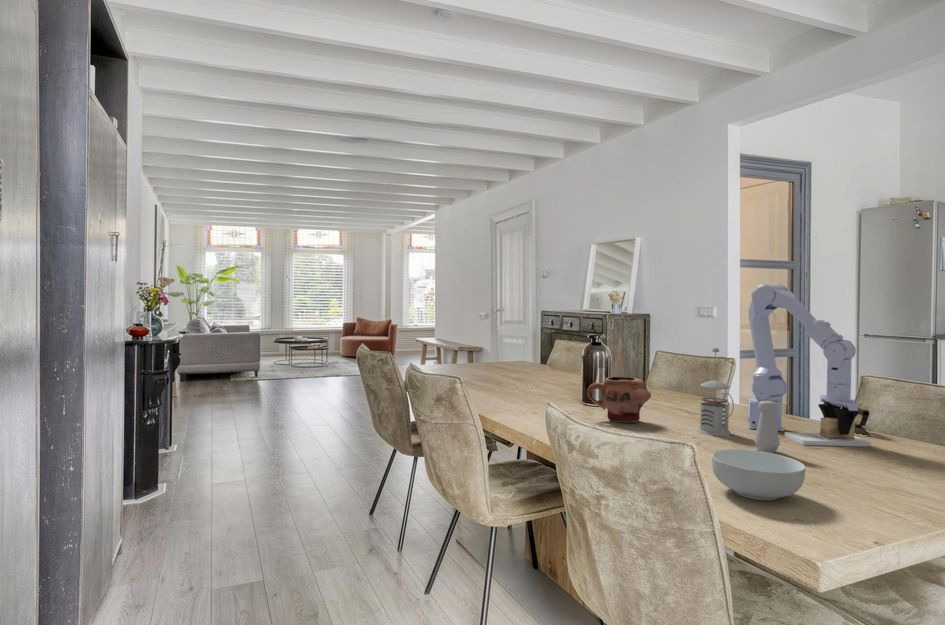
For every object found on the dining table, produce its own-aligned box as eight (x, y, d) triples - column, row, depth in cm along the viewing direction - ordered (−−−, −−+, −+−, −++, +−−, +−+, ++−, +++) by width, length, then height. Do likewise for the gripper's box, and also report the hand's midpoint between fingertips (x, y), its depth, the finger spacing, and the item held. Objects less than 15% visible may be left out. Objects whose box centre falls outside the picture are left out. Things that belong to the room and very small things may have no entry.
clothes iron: (855, 429, 182) (863, 400, 179) (876, 447, 171) (885, 416, 169) (831, 427, 182) (840, 397, 180) (851, 444, 172) (860, 413, 169)
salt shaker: (778, 450, 152) (780, 400, 152) (780, 455, 147) (781, 404, 147) (754, 447, 155) (755, 398, 155) (754, 452, 150) (755, 402, 149)
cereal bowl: (761, 514, 106) (762, 475, 106) (693, 486, 121) (693, 452, 121) (824, 502, 113) (825, 466, 112) (752, 478, 128) (753, 445, 128)
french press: (715, 427, 179) (717, 346, 179) (744, 436, 168) (746, 349, 168) (688, 429, 176) (690, 346, 176) (716, 438, 165) (718, 350, 165)
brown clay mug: (589, 423, 182) (590, 379, 182) (584, 416, 194) (584, 374, 194) (654, 425, 181) (655, 380, 181) (644, 417, 193) (645, 375, 193)
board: (802, 444, 159) (802, 440, 159) (784, 436, 169) (784, 432, 169) (870, 446, 158) (870, 442, 158) (848, 437, 168) (848, 433, 168)
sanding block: (828, 438, 161) (828, 420, 161) (820, 435, 165) (820, 417, 165) (854, 439, 161) (854, 421, 161) (845, 435, 165) (846, 418, 165)
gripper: (870, 387, 156) (868, 438, 156) (838, 380, 170) (836, 426, 170) (843, 387, 156) (841, 437, 156) (813, 379, 170) (812, 426, 171)
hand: (837, 431), depth 163 cm, fingers open, 6 cm apart
